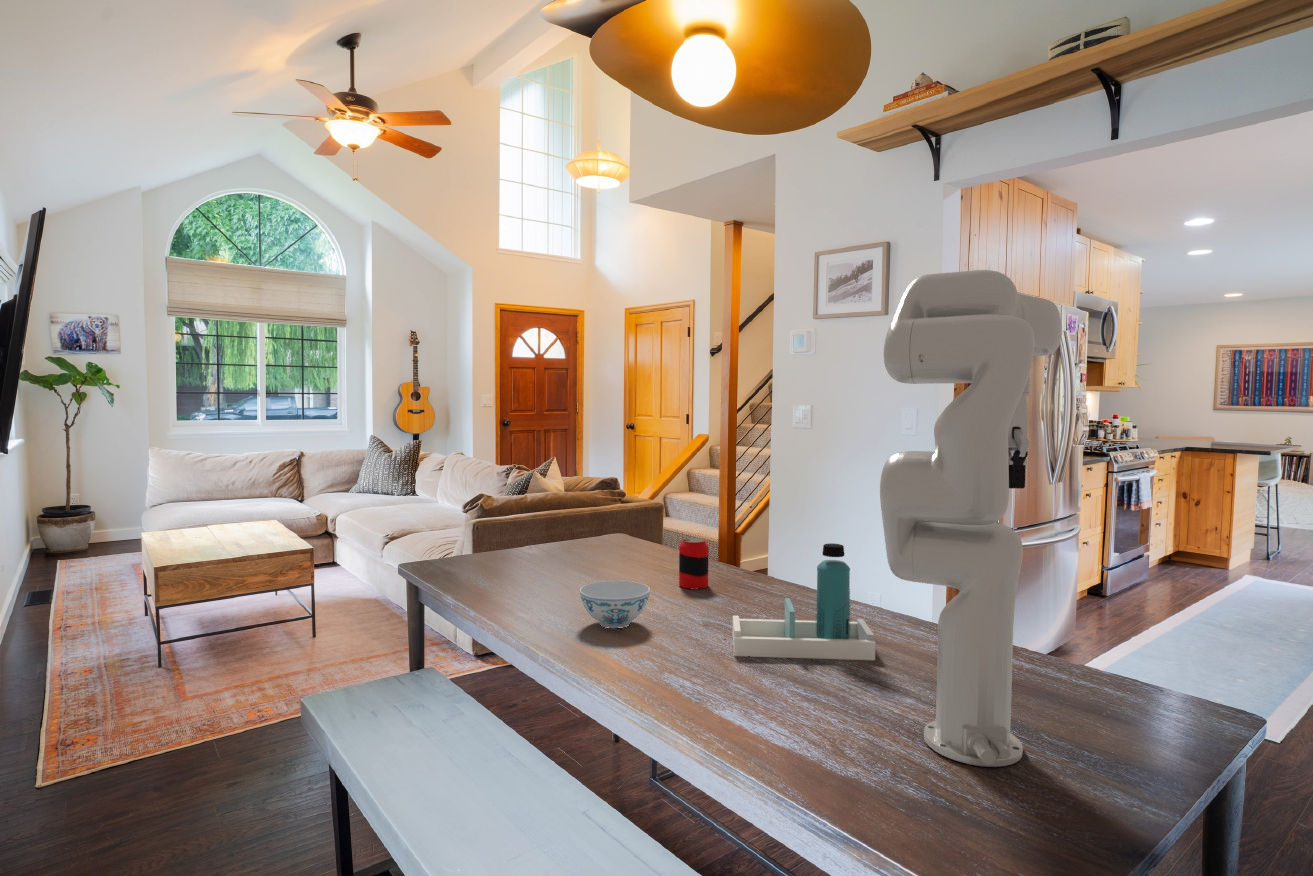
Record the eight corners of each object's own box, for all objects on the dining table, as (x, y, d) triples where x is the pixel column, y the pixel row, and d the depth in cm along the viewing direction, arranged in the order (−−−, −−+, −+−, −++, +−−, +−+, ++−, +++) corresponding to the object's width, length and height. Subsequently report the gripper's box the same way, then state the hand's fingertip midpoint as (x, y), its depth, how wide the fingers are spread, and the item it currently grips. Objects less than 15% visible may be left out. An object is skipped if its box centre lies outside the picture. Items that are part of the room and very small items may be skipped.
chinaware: (568, 631, 149) (568, 595, 149) (595, 611, 164) (595, 578, 163) (636, 639, 145) (636, 601, 145) (658, 617, 159) (658, 583, 159)
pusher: (794, 651, 136) (795, 611, 136) (789, 651, 136) (789, 611, 136) (789, 635, 145) (789, 598, 145) (784, 635, 145) (784, 598, 145)
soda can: (679, 582, 191) (679, 537, 190) (707, 582, 191) (708, 537, 190) (678, 589, 183) (679, 543, 183) (708, 590, 183) (708, 543, 182)
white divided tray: (875, 660, 133) (875, 637, 133) (734, 656, 135) (734, 633, 135) (861, 638, 146) (861, 617, 145) (732, 634, 148) (732, 613, 147)
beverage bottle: (850, 653, 136) (852, 548, 135) (814, 650, 137) (816, 546, 136) (849, 642, 142) (850, 541, 141) (814, 639, 144) (816, 540, 143)
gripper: (966, 389, 135) (964, 479, 136) (1003, 387, 118) (1000, 490, 119) (1007, 389, 135) (1005, 480, 136) (1050, 387, 117) (1047, 491, 118)
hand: (1003, 484), depth 127 cm, fingers open, 9 cm apart
